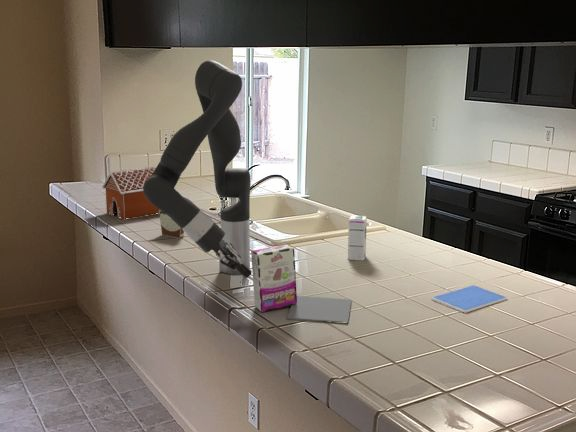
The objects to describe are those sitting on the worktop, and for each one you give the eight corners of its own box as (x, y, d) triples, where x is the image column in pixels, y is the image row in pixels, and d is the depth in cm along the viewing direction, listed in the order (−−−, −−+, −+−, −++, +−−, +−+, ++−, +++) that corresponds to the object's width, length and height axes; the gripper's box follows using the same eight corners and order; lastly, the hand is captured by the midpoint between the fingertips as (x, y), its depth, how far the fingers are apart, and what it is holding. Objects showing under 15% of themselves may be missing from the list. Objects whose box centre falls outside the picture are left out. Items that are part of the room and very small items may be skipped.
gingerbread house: (102, 213, 274) (99, 168, 269) (153, 204, 291) (152, 162, 286) (122, 221, 261) (120, 174, 256) (175, 212, 278) (174, 167, 273)
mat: (286, 319, 164) (287, 317, 164) (295, 297, 180) (295, 295, 180) (347, 323, 162) (347, 322, 162) (351, 301, 178) (351, 299, 177)
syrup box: (364, 260, 214) (366, 219, 210) (347, 259, 215) (348, 218, 211) (365, 255, 219) (367, 215, 216) (348, 254, 220) (350, 214, 217)
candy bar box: (289, 298, 177) (287, 243, 174) (297, 304, 173) (295, 247, 169) (253, 306, 172) (250, 249, 169) (260, 312, 168) (258, 254, 164)
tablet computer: (473, 288, 191) (473, 284, 191) (508, 301, 181) (509, 296, 181) (429, 301, 180) (430, 296, 180) (465, 315, 170) (465, 311, 170)
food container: (193, 236, 241) (193, 210, 238) (183, 239, 236) (182, 213, 233) (170, 231, 247) (169, 206, 245) (159, 234, 242) (158, 209, 240)
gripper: (210, 228, 160) (258, 273, 163) (215, 215, 173) (259, 258, 176) (190, 247, 161) (238, 292, 164) (196, 234, 174) (241, 276, 177)
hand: (249, 274), depth 170 cm, fingers closed
